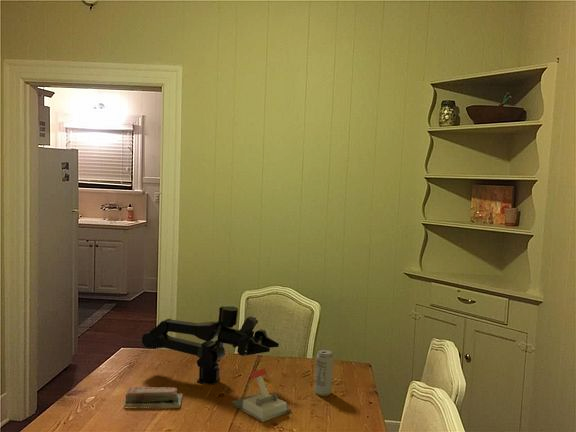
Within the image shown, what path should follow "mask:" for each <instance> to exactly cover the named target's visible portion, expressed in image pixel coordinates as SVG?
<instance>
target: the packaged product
mask: <svg viewBox="0 0 576 432" xmlns="http://www.w3.org/2000/svg"><path fill="white" fill-rule="evenodd" d="M182 400H183V393H181V392H180V393H178V388H177V387H166V386H165V387H157V386H155V387H152V386H149V387H148V386H132V387H129V388H128V390H127V391H126V393H125V402H124V404H123V408H124V407H141V408H140V409H180V408H181V405H182ZM142 407H143V408H142ZM144 407H145V408H144ZM146 407H147V408H146ZM148 407H149V408H148Z"/></svg>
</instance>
